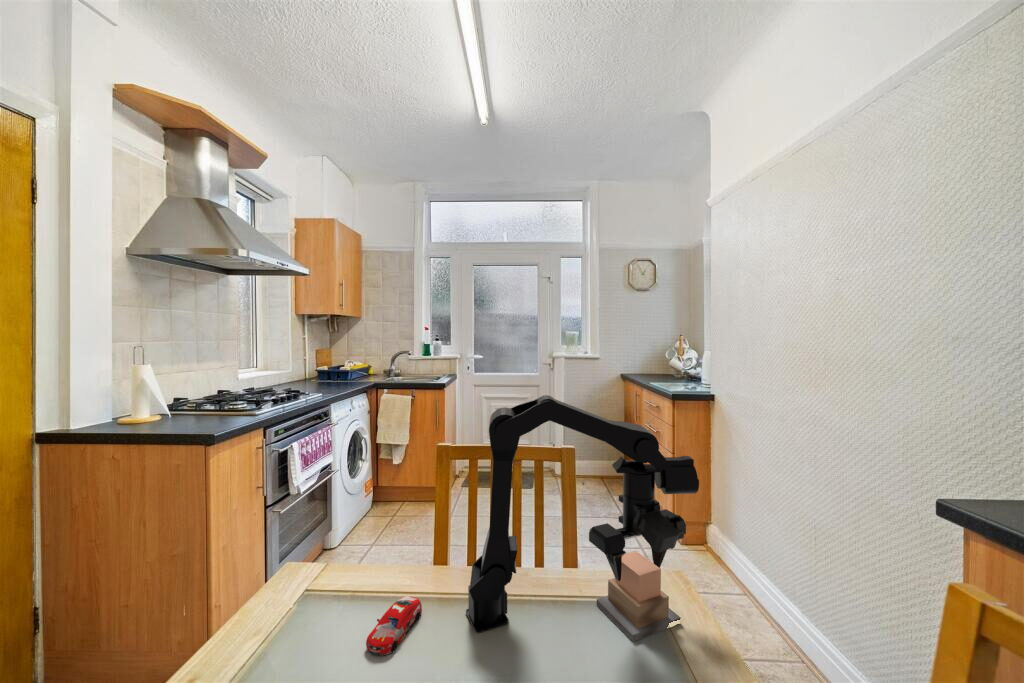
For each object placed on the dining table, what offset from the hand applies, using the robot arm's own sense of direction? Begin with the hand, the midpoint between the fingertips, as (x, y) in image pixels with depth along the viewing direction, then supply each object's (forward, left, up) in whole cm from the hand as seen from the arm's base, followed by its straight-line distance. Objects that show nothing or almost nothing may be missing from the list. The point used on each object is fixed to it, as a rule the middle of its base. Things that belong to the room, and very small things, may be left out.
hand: (637, 573), depth 87 cm
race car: (-43, +15, -8) cm, 46 cm away
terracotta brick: (0, 0, -3) cm, 3 cm away
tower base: (0, 0, -8) cm, 8 cm away
